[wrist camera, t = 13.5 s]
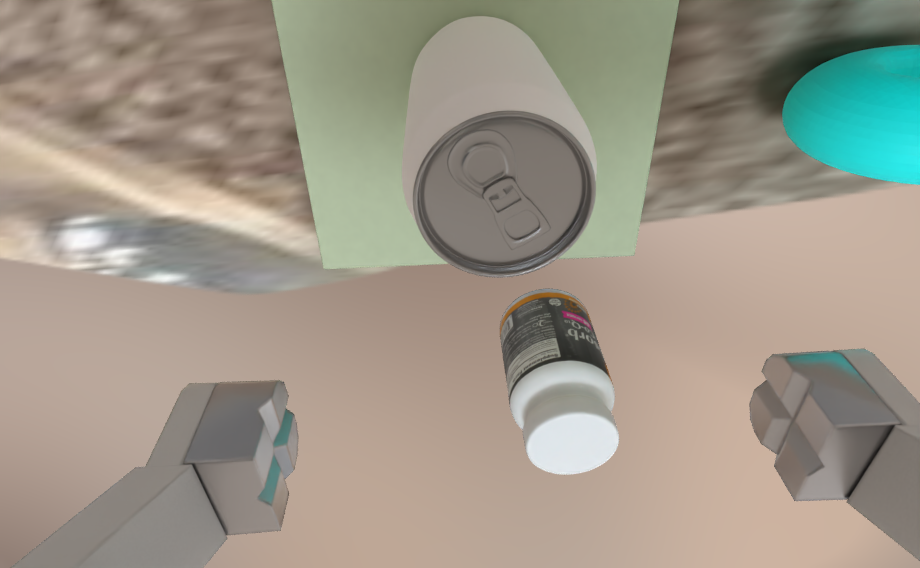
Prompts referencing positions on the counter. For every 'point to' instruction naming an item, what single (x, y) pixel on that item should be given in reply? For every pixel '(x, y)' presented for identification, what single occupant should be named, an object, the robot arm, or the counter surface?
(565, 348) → the pill bottle
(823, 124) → the donuts
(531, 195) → the can
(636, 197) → the mat
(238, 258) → the counter surface
